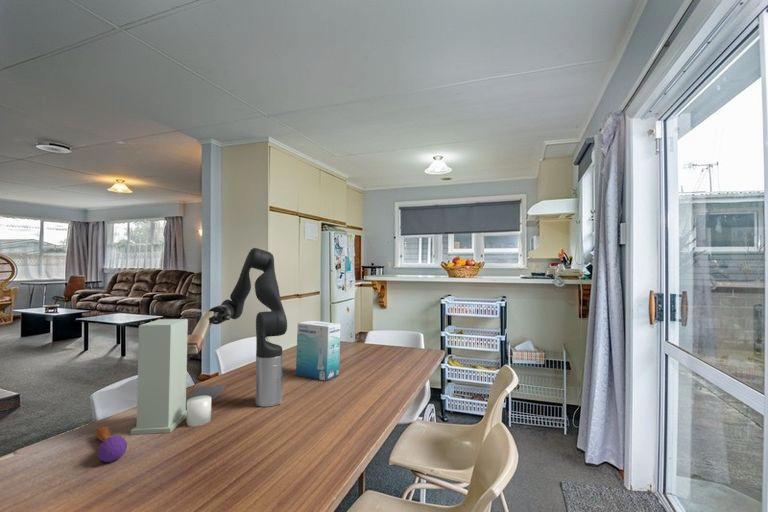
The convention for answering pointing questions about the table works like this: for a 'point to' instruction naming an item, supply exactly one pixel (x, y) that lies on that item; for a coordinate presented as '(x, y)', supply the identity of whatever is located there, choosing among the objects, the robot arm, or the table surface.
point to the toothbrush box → (318, 350)
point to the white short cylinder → (198, 410)
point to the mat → (206, 392)
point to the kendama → (110, 445)
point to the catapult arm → (199, 333)
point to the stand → (161, 376)
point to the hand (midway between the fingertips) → (204, 320)
